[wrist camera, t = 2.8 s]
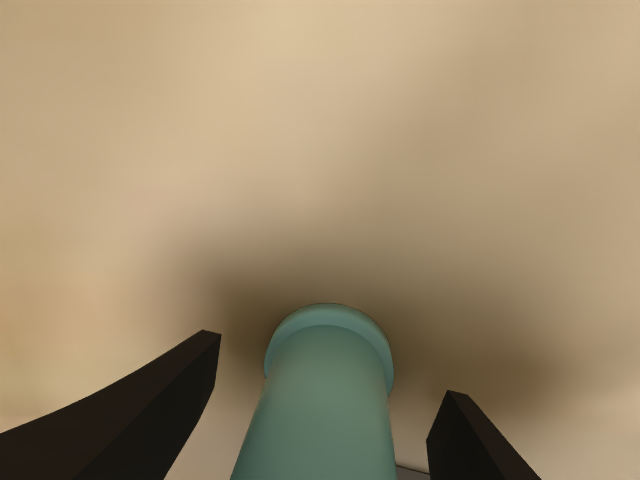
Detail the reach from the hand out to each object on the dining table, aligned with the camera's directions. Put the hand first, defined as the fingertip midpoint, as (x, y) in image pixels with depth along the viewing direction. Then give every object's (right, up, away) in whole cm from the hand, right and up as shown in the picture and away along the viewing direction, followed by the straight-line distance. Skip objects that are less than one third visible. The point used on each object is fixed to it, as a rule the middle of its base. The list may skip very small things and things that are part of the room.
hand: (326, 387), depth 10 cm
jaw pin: (0, 0, +1) cm, 1 cm away
